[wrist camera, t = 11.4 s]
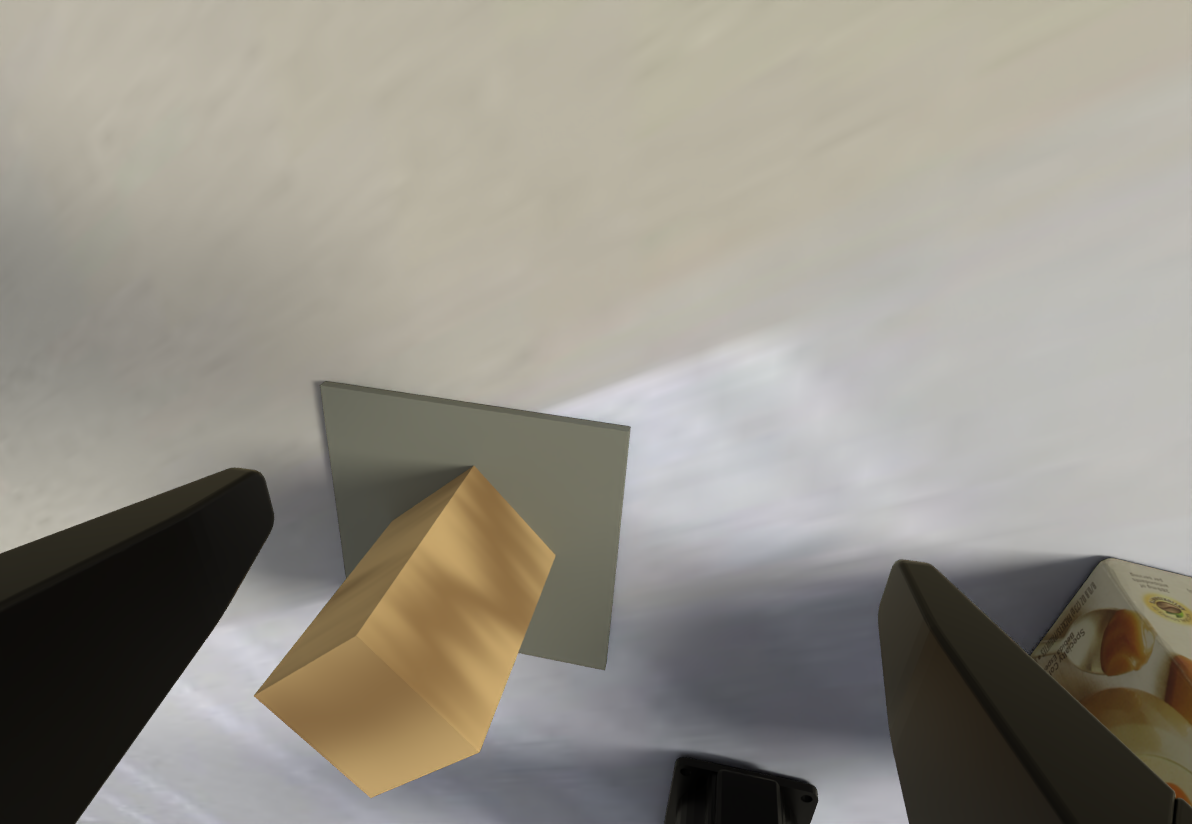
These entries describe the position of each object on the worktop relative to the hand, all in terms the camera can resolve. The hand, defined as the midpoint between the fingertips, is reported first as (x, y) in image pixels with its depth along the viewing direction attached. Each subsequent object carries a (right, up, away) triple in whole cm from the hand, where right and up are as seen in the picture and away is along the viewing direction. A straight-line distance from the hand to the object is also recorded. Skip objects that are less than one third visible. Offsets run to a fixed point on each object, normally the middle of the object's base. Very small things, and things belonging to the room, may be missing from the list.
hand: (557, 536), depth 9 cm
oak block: (-5, -3, +18) cm, 19 cm away
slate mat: (-4, -3, +18) cm, 19 cm away
